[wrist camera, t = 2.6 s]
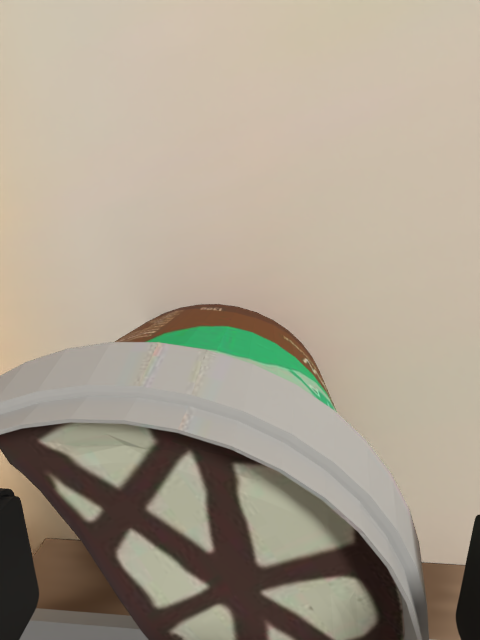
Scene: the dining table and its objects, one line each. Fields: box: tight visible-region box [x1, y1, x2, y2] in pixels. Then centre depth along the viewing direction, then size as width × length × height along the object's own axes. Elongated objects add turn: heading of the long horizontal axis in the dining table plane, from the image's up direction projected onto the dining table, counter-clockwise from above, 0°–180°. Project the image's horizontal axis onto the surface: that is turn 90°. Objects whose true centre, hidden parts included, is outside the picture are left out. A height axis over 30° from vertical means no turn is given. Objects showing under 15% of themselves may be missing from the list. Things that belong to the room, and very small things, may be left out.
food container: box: [0, 304, 429, 640], centre depth 12 cm, size 12×6×10 cm, turn 33°
